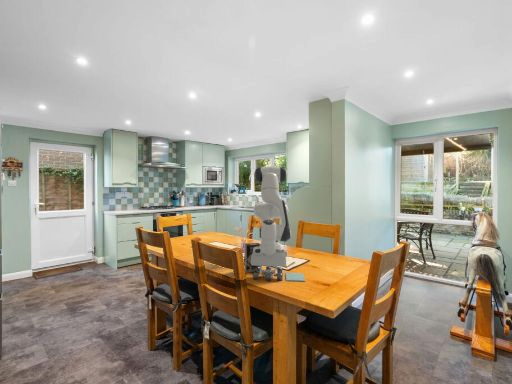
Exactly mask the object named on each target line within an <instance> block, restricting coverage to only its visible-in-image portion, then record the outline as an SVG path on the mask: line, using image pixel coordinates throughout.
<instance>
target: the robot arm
mask: <svg viewBox="0 0 512 384" xmlns="http://www.w3.org/2000/svg"><path fill="white" fill-rule="evenodd" d="M288 174H289V173H288V171H287V168H286V167H284V166H272V165H271V166H258V167H256V168H255V170H254V172H253V177H254V180H255V182H256V183H258V184H261V189H260V197H261V200H262V201H263V202H261V203H256V204H255V205H254V207H253V214H254V215H255V217H256V218H258V219H259V220H260V222H261V226H260V227H259V237H258V238H260V239H261V242H260V244H261V245H260V246H257V247H254V248H253V253H252V256H251V265H253V266H259V268H260V270H261V271H260V274H261V275H262V274H263V275H264V270H265V269H263V267H267V266H270V267H274V269H273V275H276V272H277V268H278V267H281V268H283V267H287V257H288V251H286V250H285V249H281V248H282V247H281V245H282V244H281V243H280V242H282V243H283V242H284V243H285V242H287V241H289V240H290V239H291V236H292V231H291V226H290V224H289V217H288V214H289V211H290V210H289V207H288V205H287V204H286V202H285V199H284V198H283V197H282V196H281V193H280V184H281V183H285V182H286V181H287V179H288ZM279 183H280V184H279ZM272 219H281V223H280V224H277V223H276V221H275V220H272Z"/></svg>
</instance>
